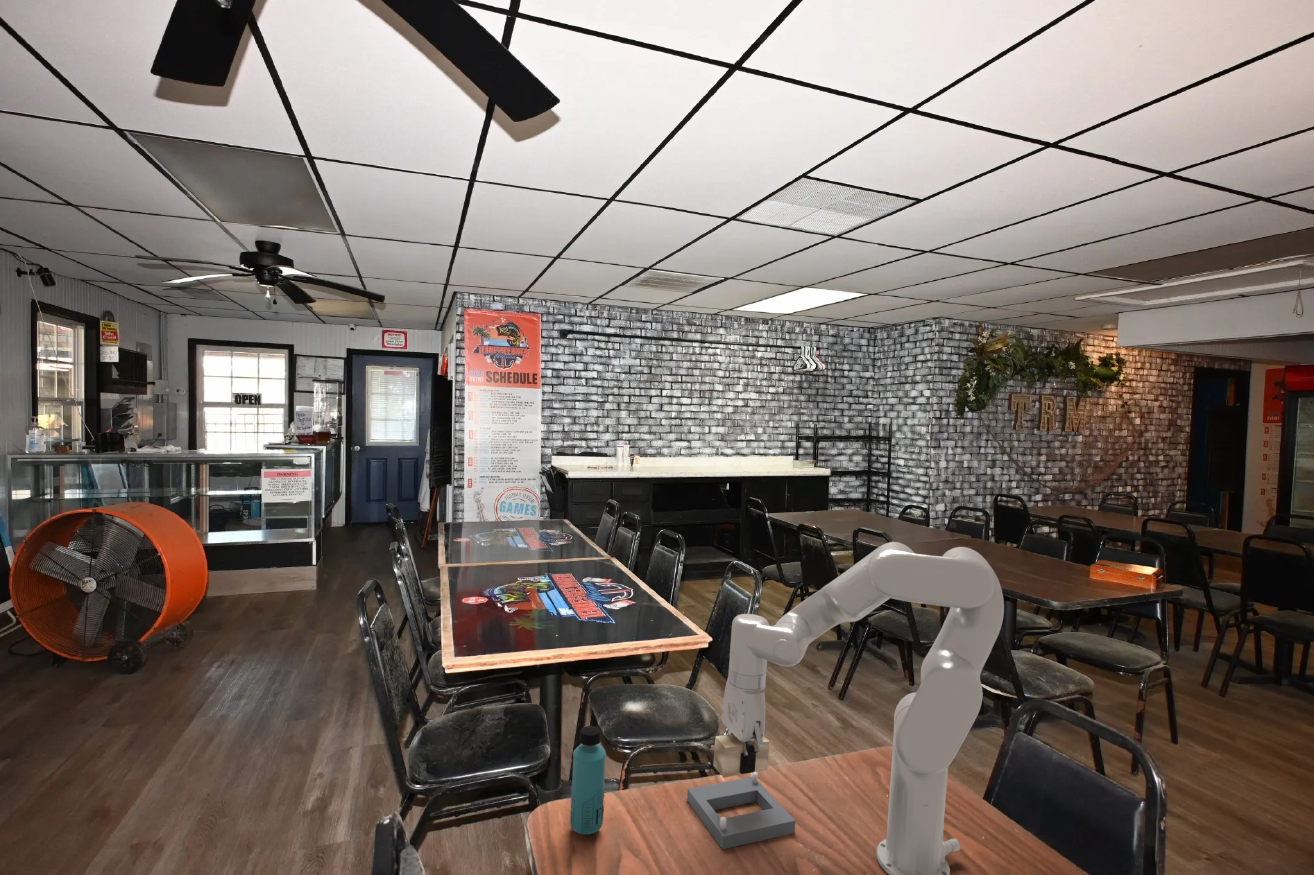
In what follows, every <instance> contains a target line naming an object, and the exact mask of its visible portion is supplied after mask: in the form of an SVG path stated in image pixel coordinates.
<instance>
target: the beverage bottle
mask: <svg viewBox="0 0 1314 875" xmlns="http://www.w3.org/2000/svg"><path fill="white" fill-rule="evenodd" d="M601 735H602V733H601V729H600V728H599V727H597V726H593V725H588V726H584V727H582V728H581V729H580V732H579V738H578V741H579V743H580V744H579V745H578V746H577V747H576V748H575V749H574V750H573V753H572V756H573V760H572V777H571V778H572V779H571V780H572V781H571V795H570V796H571V797H570V802H569V803H570V809H569V812H570V815H569V819H570V820H569V824H570V826H571V829H572V830H573V831H575V832H576V833H578V834H580V835H591V834H595V833H597V832H599V831H600V830H601V828H602V826H603V824H604V813H605V811H604V810H605V807H604V804H605V799H604V798H605V782H606V756H607V754H606V750H605V748H604V747H602V745H601V744H600V743H601V741H602V736H601Z"/></svg>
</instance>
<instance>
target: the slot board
mask: <svg viewBox="0 0 1314 875" xmlns="http://www.w3.org/2000/svg"><path fill="white" fill-rule="evenodd" d="M758 777H759V772H753V773H751V776H750V777H749V776H748V777H744V778H738V779H737V778H736V779H732V780H727V781H722V782H716V783H710V784H705V785H701V786H695V787H694V786H693V787H689V788H687V797H686V800H687V802H688V804H689V805H690V806H691V807H692V809H693V810H694V812H695V814H697V816H698V818H699V819H700V820H701V822H702V823H703V825H704V826H705V827H706V828H707V830H708V831H709V833H710V835H712V837H713V839H714V840H715V841H716V843H717V844H718V846H719V847H720V849H722V850H726V849H731V848H735V847H738V846H743V845H744V846H745V845H748V844H752V843H758V842H760V841H765V840H770V839H774V838H778V837H783V836H787V835H791V834H795V831H796V820H795V818H794V817H793V816H792V815H791V814H790V813H789V812H788V811H787V810H786V809H785V808H784V807H783V805H781V803H780V802H778V800H777V799H776V798H775V797H774V796H773V794H771V793H770V792H769V791H768V790H767V789H766V787H765V786H763V785H762V783H761V781H759V779H758ZM751 803H757V804H758V805H759V806H760V808H761V809H762V810H758V811H753V812H749V813H743V814H739V815H734V816H729V817H725V816H721V817H720V816H719V815H718V814H717V811H716V810H723V809H726V808H731V807H732V808H733V807H736V806H741V805H746V804H747V805H748V804H751Z"/></svg>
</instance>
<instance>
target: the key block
mask: <svg viewBox="0 0 1314 875" xmlns="http://www.w3.org/2000/svg"><path fill="white" fill-rule="evenodd" d="M751 737H753V735H752V736H751ZM762 740H763V744H764V749H763V750H760V751H759V752H758V754H756V762H755V771H754V772H757V773H759V772H763V771H768V766H769V753H770V752H769V751H770V750H769V749H770V740H769V739H768V738H767V737H765V735H764V736H763V739H762ZM751 745H752V742H748V747H749V746H751ZM741 753H743V742H741V741H740V740H739V739H738V738H737V737H736V736H735V735H734V734H730V735H727V734H724V735H718V736H715V739H714V751H713V762H712V763H713V764H712V765H713V767H714V769H716V770H717V772H718V773H719V774H720V775H721V777H722V778H729V777H734V776H741V775H743V774H741V773H740V759H741ZM752 773H753V772H752ZM752 773H751V774H752ZM746 774H748V773H746ZM746 774H745V775H746Z"/></svg>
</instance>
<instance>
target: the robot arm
mask: <svg viewBox="0 0 1314 875" xmlns="http://www.w3.org/2000/svg"><path fill="white" fill-rule="evenodd" d="M1000 583H1001V582H1000V581H999V578H998V576H997V575H996V573H995V571H994V570H993V568H992V566H991V565H990V564H989V562H988V561H987V559H985V558H984V556H982V555H981V554H980V553H979V552H977V551H976V550H974V549H972V548H970V547H965V546H956V547H953V548H951V549H948V550H947V551H945V552H944V554H943V555H942V556H939V555H930V554H920V553H915V552H914V551H913V550H912V549H911V548H910V547H909V546H907V545H905V544H904V543H901V542H899V541H898V542H897V541H890V542H886V543H883V544H882V545H880V546H879V547H877V548H875V549H874V550H873V551H871V552H870V553H869V554H867V555H866V556H865V557H863V558H862V559H861V560H859V561H858V562H856V563H855V564H853V566H851V567H850V568H848V569H847V570H845V571H844V572H843V573H841V574H840V575H839V576H837V577H836V578H835V579H833V580H832V581H830V582H829V583H827V584H825V585H824V586H823V587H822V588H820V589H819V590H818V591H816V592H815V593H813V594H812V595H810V596H808V597H807V598H805V600H803V601H801V602H800V603H799V604H797V605H795V607H793V608H792V609H791V610H789V611H788V612H787V613H785V614H784V615H783V616H781V617H780V618H779V619H778V621H777V622H776V623H775V625H770V624H769V621H768V620H767V619H766V618H765V617H763V616H760V615H758V614H753V613H741V614H737V615H736V616H735V617H734V618H733V620H732V622H731V624H732V625H731V633H730V635H731V636H730V646H729V647H730V648H729V649H730V650H729V664H728V675H727V676H728V677H727V681H726V684H725V687H724V692H723V693H724V694H723V700H722V708H721V722H722V724H723V725H724V726H725V727H726V728H727V734H726V735H730V734H734V735H735V736H736V737H737V738H738V739H739V740H740V741H741V742H743V753H741V759H740V773H741V774H742V775H746V773H747V774H752V772H754V771H755V762H756V754H758V752H759V751H760V750H763V749H764V744H763V740H762V739H763V736H764V737H765V730H766V694H765V689H766V685H767V684H766V682H767V668H768V665H767V664H768V662H770V663H772V664H775V665H778V666H782V667H794V666H795V665H797V664H800V662H801V661H802V659H803V658H804V656H805V654H806V652H807V650H808V647H809V645H810V644H811V643H812V642H814V641H815V640H816V639H818V638H819V637H820V636H822V635H824V634H825V633H826V632H828V631H829V630H831V629H833V628H834V627H836V626H838V625H840V624H842V623H854V622H858V621H860V620H862V619H863V618H864V617H866V616H867V615H869V614H870V613H872V612H873V611H874V610H876V609H877V608H878V607H880V606H881V605H882V604H884V603H885V602H887V601H888V600H890V599H894V600H897V601H903V602H909V603H913V604H914V603H916V604H923V605H930V606H938V607H947V608H949V611H948V613H947V616H946V618H945V620H944V622H943V624H942V627H941V628H940V631H939V633H938V634H937V637H936V638H935V639H934V642H933V644H932V646H931V647H930V649H929V651H928V653H927V654H926V655H925V657H924V659H923V660H922V663H921V668H920V683H919V687H918V688H917V690H916V692H911V693H908V694H906V695H904V697H902V698H901V699H900V700H899V702H898V703H897V705H896V708H895V709H894V715H893V737H892V738H893V739H892V740H893V741H892V754H891V756H892V757H891V770H890V782H889V796H888V798H889V799H888V810H887V812H888V813H887V825H886V838H884V839H883V840H881V841H880V842H879V843H878V845H877V847H876V859H877V861H878V863H879V864H878V865H879V866H880V867H881V868H882V869H883V870H884V872H886V873H887V874H888V875H950V871H951V869H950V864H949V863H948V862H947V860H946V856H948V855H949V853H954V852H958V851H960V850H961V843H960V842H959V840H958V839H957V838H950V839H947V840H946V841H944V840H945V838H944V823H945V812H946V811H945V809H946V796H947V789H948V787H947V786H948V775H949V774H948V772H949V766H950V765H951V763H952V762H953V760H954V759H955V758H956V756H957V754H958V752H959V750H960V748H961V746H962V745H963V744H964V741H965V740H966V738H967V735H968V734H969V732H970V730H971V728H972V727H973V725H974V723H975V722H976V719H977V717H978V715H979V713H980V710H981V707H982V703H983V702H982V701H983V694H984V693H983V687H982V681H981V674H982V670H983V668H984V666H985V665H986V662H987V660H988V658H989V656H990V655H991V652H992V649H993V647H994V645H995V643H996V641H997V638H998V637H999V635H1000V632H1001V628H1002V625H1003V620H1004V615H1005V603H1004V594H1003V591H1002V590H1003V589H1002V586H1001V584H1000ZM752 735H753V737H751V736H752ZM748 742H752V745H751V746H749V747H748Z"/></svg>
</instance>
